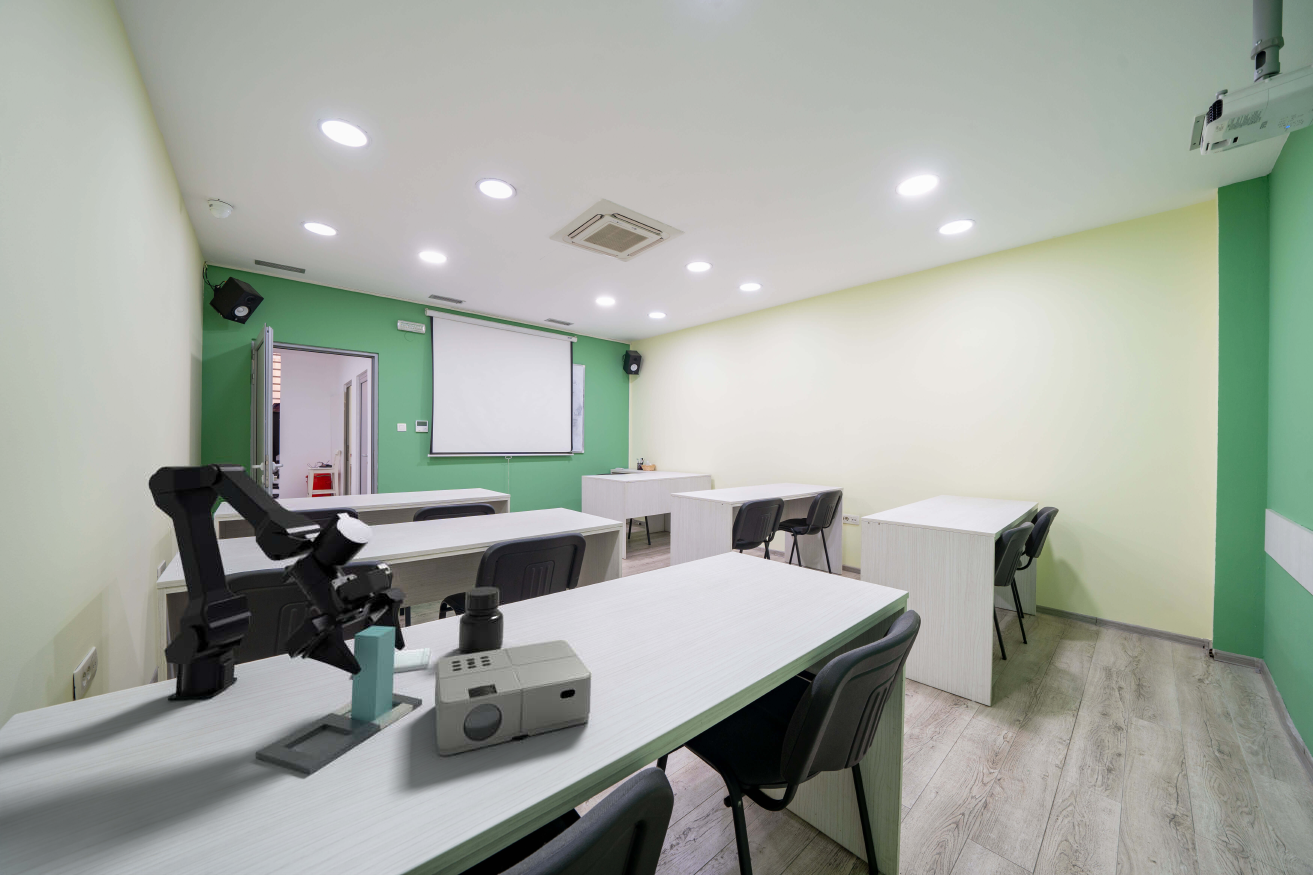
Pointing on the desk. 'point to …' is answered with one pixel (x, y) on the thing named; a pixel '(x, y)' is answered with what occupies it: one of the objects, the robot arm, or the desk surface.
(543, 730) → the projector
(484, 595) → the ink bottle
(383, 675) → the plug
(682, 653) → the desk surface
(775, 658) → the desk surface
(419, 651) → the hard drive
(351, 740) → the panel
